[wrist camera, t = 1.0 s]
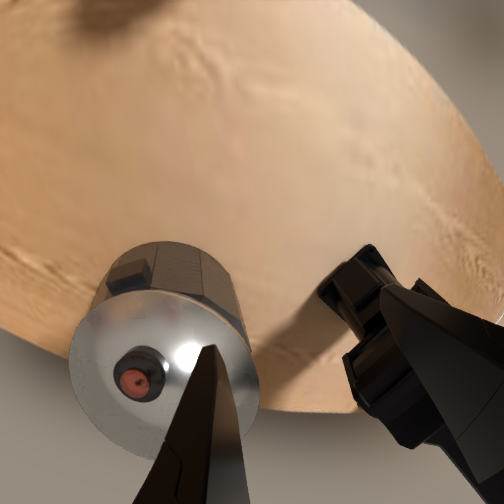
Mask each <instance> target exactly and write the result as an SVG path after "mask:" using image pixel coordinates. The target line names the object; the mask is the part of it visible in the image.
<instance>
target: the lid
mask: <svg viewBox="0 0 504 504" xmlns="http://www.w3.org/2000/svg"><path fill="white" fill-rule="evenodd" d="M211 344H215V345H216V346H217V347H218V350H219V352H220V354H221V356H222V358H223V360H224V363H225V366H226V370H227V374H228V378H229V382H230V385H231V389H232V393H233V397H234V401H235V405H236V410H237V416H238V424H239V432H240V439H241V440H242V438H243V437H244V436H245V435H246V433H247V432H248V431H249V429H250V427H251V426H252V424H253V422H254V419H255V417H256V414H257V411H258V406H259V398H260V388H259V379H258V374H257V370H256V366H255V362H254V359H253V357H252V355H251V352H250V350H249V348H248V346H247V345H246V343H245V341H244V339H243V338H242V337H241V335H240V334H239V333H238V331H237V330H236V329H235V328H234V327H233V326H232V325H231V324H230V323H229V322H228V321H227V320H226V318H224V317H223V316H222V315H220V314H219V313H218V312H217V311H215V310H214V309H213V308H211V307H209V306H208V305H206V304H204V303H203V302H201V301H199V300H196V299H194V298H192V297H190V296H187V295H184V294H181V293H178V292H173V291H168V290H162V289H140V290H134V291H129V292H125V293H123V294H120V295H117V296H115V297H112V298H110V299H108V300H106V301H104V302H102V303H101V304H99V305H97V306H96V307H95V308H94V309H92V310H91V311H90V312H89V313H88V314H87V315H86V316H85V317H84V319H83V320H82V321H81V323H80V324H79V326H78V328H77V329H76V331H75V334H74V336H73V339H72V342H71V346H70V352H69V373H70V378H71V383H72V386H73V390H74V393H75V395H76V397H77V399H78V401H79V404H80V405H81V407H82V409H83V411H84V412H85V413H86V415H87V416H88V417H89V419H90V420H91V422H92V423H93V424H94V425H95V426H96V427H97V428H98V429H99V430H100V431H101V432H102V433H103V434H104V435H105V436H106V437H107V438H109V439H110V440H111V441H113V442H114V443H116V444H117V445H119V446H120V447H122V448H123V449H125V450H127V451H129V452H131V453H133V454H135V455H137V456H140V457H143V458H146V459H149V460H153V461H155V460H156V457H157V455H158V453H159V451H160V448H161V446H162V443H163V441H165V440H164V438H165V436H166V434H167V431H168V429H169V426H170V424H171V421H172V419H173V416H174V414H175V411H176V409H177V407H178V404H179V402H180V399H181V397H182V394H183V392H184V389H185V387H186V385H187V382H188V380H189V377H190V375H191V372H192V370H193V368H194V365H195V363H196V360H197V358H198V356H199V353H200V351H201V348H202V347H204V346H207V345H211Z"/></svg>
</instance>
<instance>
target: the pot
mask: <svg viewBox="0 0 504 504" xmlns="http://www.w3.org/2000/svg"><path fill="white" fill-rule="evenodd" d="M140 289H162V290H168V291H173V292H178V293H181V294H184V295H187V296H190V297H192V298H194V299H196V300H199V301H201V302H203V303H204V304H206V305H208V306H209V307H211V308H213V309H214V310H215V311H217V312H218V313H219V314H220V315H222V316H223V317H224V318H226V320H227V321H228V322H229V323H230V324H231V325H232V326H233V327H234V328H235V329H236V330H237V331H238V333H239V334H240V335H241V337H242V338H243V339H244V341H245V343H246V345H247V346H248V348H249V350H250V352H252V350H251V347H250V343H249V339H248V336H247V332H246V328H245V324H244V321H243V317H242V313H241V309H240V305H239V302H238V299H237V296H236V293H235V290H234V286H233V283H232V281H231V278H230V275H229V273H228V272H227V271H226V270H225V269H224V268H223V266H222V265H221V264H220V263H219V262H218V261H217V260H216V259H214V258H213V257H212V256H210V255H209V254H207V253H206V252H204V251H202V250H200V249H198V248H196V247H193V246H190V245H187V244H183V243H178V242H170V241H165V242H152V243H147V244H143V245H140V246H137V247H135V248H133V249H131V250H129V251H127V252H126V253H124V254H123V255H121V256H120V257H119V258H118V259H117V260H116V261H115V262H114V263H113V265H112V266H111V268H110V269H109V271H108V273H107V274H106V275H105V277H104V278H103V279H102V281H101V283H100V286H99V288H98V291H97V293H96V296H95V298H94V301H93V303H92V306H91V308H90V311H91V310H92V309H94V308H95V307H96V306H97V305H99V304H101V303H102V302H104V301H106V300H108V299H110V298H112V297H115V296H117V295H120V294H123V293H125V292H129V291H134V290H140ZM90 311H89V312H90Z"/></svg>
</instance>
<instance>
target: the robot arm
mask: <svg viewBox="0 0 504 504" xmlns="http://www.w3.org/2000/svg"><path fill="white" fill-rule="evenodd" d="M370 249H371V250H370ZM369 250H370V251H369ZM322 292H324V293H323V294H322ZM317 294H318V296H319V297H320V299H322V300H323V301H324V302H325V303H326V304H327V305H328V306H329V307H330V308H331V309H332V310H333V311H335V312H336V313H337V314H338V315H339V316H340V317H341V318H342V319H343V320H344V321H345V322H346V323H347V324H348V325H349V326H350V328H351V330H352V331H353V333H354V334H355V336H356V337H357V339H358V340H359V343H358V344H357V345H356V346H355V347H354V348H353V349H352V350H351V351H350V352H349V353H346V354H345V355H344V356H343V357H342V360H343V363H344V367H345V371H346V374H347V378H348V381H349V384H350V388H351V391H352V395H353V398H354V400H355V401H356V402H357V405H358V407H359V408H361V409H363V410H364V411H365V412H367V413H368V414H369V415H370V416H372V417H374V418H378V419H379V420H380V421H381V422H382V423H383V424H384V425H385V426H386V427H387V429H388V430H389V431H390V433H391V434H392V435H393V437H394V438H395V440H396V441H397V442H398V444H400V445H401V446H404V447H406V448H409V449H414V448H416V447H417V446H419V445H420V444H422V443H424V444H429V445H434V446H438V447H440V448H441V449H442V450H443V451H444V452H445V454H446V455H447V456H448V457H449V459H450V460H451V461H452V462H453V463H454V465H455V466H456V467H457V468H458V469H459V471H460V472H461V473H462V474H463V476H464V477H465V478H466V480H467V481H468V482H469V483H470V484H471V486H472V487H473V488H474V489H475V491H476V492H477V493H478V494H479V496H480V497H481V498H482V499H483V501H484V502H485V503H486V504H504V327H502V326H500V325H497V324H494V323H492V322H489V321H487V320H485V319H481V318H479V317H477V316H475V315H472V314H470V313H467V312H465V311H462V310H460V309H457V308H455V307H452V306H451V305H450V304H449V303H448V302H446V301H445V300H444V299H443V298H442V297H441V296H440V295H439V294H438V293H436V292H435V291H434V290H433V289H432V288H431V287H429V286H428V285H427V284H426V283H425V282H424V281H422V280H421V279H420V278H418V280H417V281H416V282H415V285H414V286H413V287H412V288H411V289H410V290H409V289H406V288H404V287H403V286H402V285H401V284H400V283H399V282H398V281H397V279H396V278H395V276H394V275H393V273H392V272H391V270H390V268H389V267H388V265H387V264H386V262H385V261H384V259H383V258H382V256H381V255H380V253H379V252H378V251H377V249H376V248H375V247H374V246H373V245H372V244H368V245H367V246H365V247H364V248H363V249H362V250H361V251H360V252H359V253H358V254H357V255H356V256H355V257H354V258H353V259H351V260H350V261H349V262H348V263H347V264H346V265H345V266H344V267H343V268H342V269H341V270H339V271H338V272H337V273H336V274H335V275H334V276H333V277H332V278H331V279H329V280H328V281H327V282H326V283H325V284H324V285H323V286H321V287H320V288H319V289H318V291H317ZM164 440H165V441H163V443H162V446H161V448H160V451H159V453H158V455H157V457H156V460H155V462H154V464H153V466H152V469H151V471H150V472H149V474H148V476H147V478H146V480H145V482H144V484H143V485H142V487H141V489H140V491H139V492H138V494H137V496H136V498H135V499H134V501H133V503H132V504H250V499H249V493H248V487H247V480H246V474H245V468H244V460H243V453H242V446H241V439H240V432H239V424H238V416H237V410H236V405H235V401H234V397H233V393H232V389H231V385H230V382H229V378H228V374H227V370H226V366H225V363H224V360H223V358H222V356H221V354H220V352H219V350H218V347H217V346H216V345H215V344H211V345H207V346H204V347H202V348H201V351H200V353H199V356H198V358H197V360H196V363H195V365H194V368H193V370H192V372H191V375H190V377H189V380H188V382H187V385H186V387H185V389H184V392H183V394H182V397H181V399H180V402H179V404H178V407H177V409H176V411H175V414H174V416H173V419H172V421H171V424H170V426H169V429H168V431H167V434H166V436H165V438H164Z"/></svg>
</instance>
